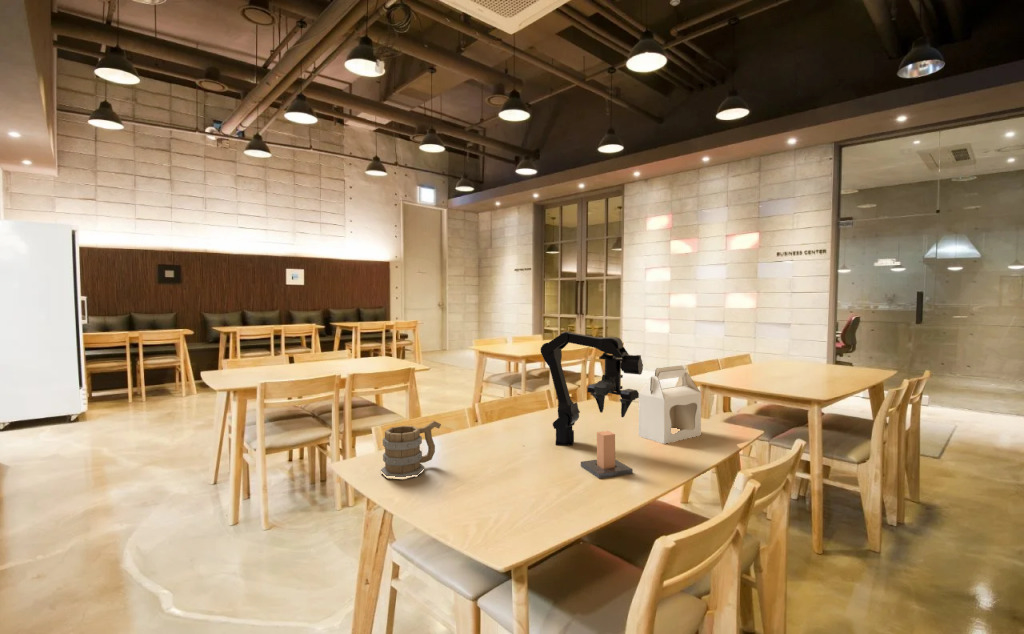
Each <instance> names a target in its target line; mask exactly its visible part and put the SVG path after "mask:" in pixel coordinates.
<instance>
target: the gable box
mask: <svg viewBox="0 0 1024 634" xmlns="http://www.w3.org/2000/svg"><path fill="white" fill-rule="evenodd" d="M687 369H688V368H685V367H684V365H674V366H666V367H664V366H663V367H656V369H655V372H654V375H652V376H650V378H648V380H647V381H646V383H645V385H643V387H642V389H641V390H640V391H639V392H638V393H639V398H638V437H639V436H640V437H639V438H642V437H643V438H642V439H646V440H649V439H650V440H649V441H652V440H653V441H652V442H655V441H656V442H655V443H658V442H659V444H662V443H663V444H662V445H667V444H666V443H668V444H671V443H670V442H672V443H675V442H674V441H676V442H679V441H678V440H680V441H684V440H688V439H687V438H689V439H692V437H693V438H696V436H697V437H700V435H701V436H702V432H701V431H702V392H701V391H700V389H699V387H698V386H697V385H696V383H695V382H694V380H693V379H692V378H691V376H690V374H688V372H686V371H687ZM675 378H677V380H676V383H675V386H673V387H666V388H662V386H661V383H660V381H661V380H668V379H675ZM671 428H677V429H680V431H678V432H677V433H675V434H672V433H671ZM683 439H684V440H683Z"/></svg>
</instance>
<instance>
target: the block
mask: <svg viewBox="0 0 1024 634" xmlns="http://www.w3.org/2000/svg"><path fill="white" fill-rule="evenodd" d="M615 459H616V434H615V433H614V432H611V431H609V430H604V431H597V432H596V460H597V466H599V467H601V468H602V469H607V468H614V467H615Z"/></svg>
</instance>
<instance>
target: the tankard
mask: <svg viewBox="0 0 1024 634" xmlns="http://www.w3.org/2000/svg"><path fill="white" fill-rule="evenodd" d="M441 426H442V424H441V423H440V422H438V421H435V420H432V421H431V422H429V424H426V425H425V426H423V427H417V426H415V425H399V426H391V427H389V428H387V429H386V430H385V431H384V438H382V446H383V447H384V452H383V454H382V461H383V462H384V463H385V464H384V465H385V466H384V467H382V468H381V469H380V472H381V471H382V472H383V473H384V474H385V475H386V476H395V477H406V476H412V475H418V474H419V473H420V472H421V471H422V470H423V469H424V470H425V466H424V465H423V464H422V463H427V462H430V461H431V460H432V459H433V457H434V455H435V453H436V445H435V442H434V440H433V434H432V430H433V429H435V428H436V429H438V430H439V429H440V428H441ZM420 434H424V440H425V442H426V444H427V448H428V449H427V452H426V454H425V455H423V451H422V450H421V449H420V448H421V447H420V446H421V444H422V443H423V440H422V439H423V436H421V435H420Z"/></svg>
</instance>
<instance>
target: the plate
mask: <svg viewBox="0 0 1024 634" xmlns="http://www.w3.org/2000/svg"><path fill="white" fill-rule="evenodd" d="M580 467H581V468H582V469H584V470H586V471H587V472H588V473H589V474H592V475H593V476H594V477H595V478H597V479H599V480H600V479H606V478H608V479H609V478H614V477H621V476H626V475H633V468H631V467H630V466H628V465H627V464H625V463H623V462H621V461H619V460H618V459H616V458H615V467H614V468H607V469H602V468H601V467H599V466H597V459H590V460H585V461H584V460H583V461H580ZM620 475H621V476H620Z"/></svg>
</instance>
